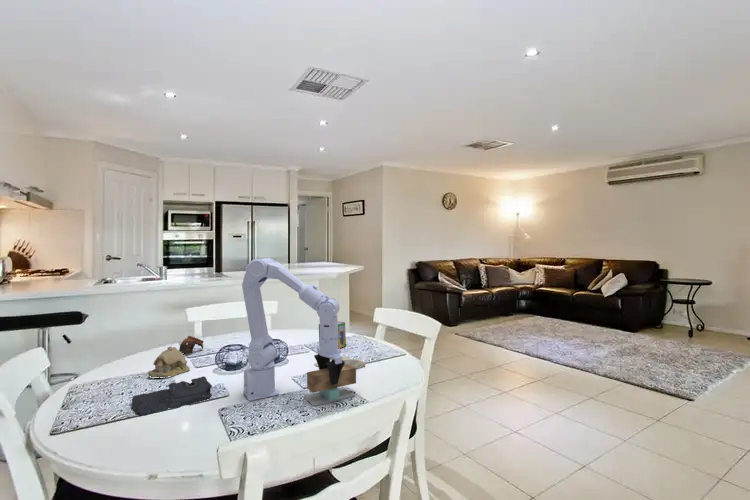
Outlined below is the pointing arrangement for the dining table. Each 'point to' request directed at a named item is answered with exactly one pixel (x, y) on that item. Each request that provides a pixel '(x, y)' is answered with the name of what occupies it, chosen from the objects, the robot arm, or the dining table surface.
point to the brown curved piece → (190, 344)
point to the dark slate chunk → (172, 396)
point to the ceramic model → (169, 363)
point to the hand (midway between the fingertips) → (329, 380)
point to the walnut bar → (321, 378)
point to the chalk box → (339, 334)
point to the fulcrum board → (323, 400)
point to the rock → (349, 362)
